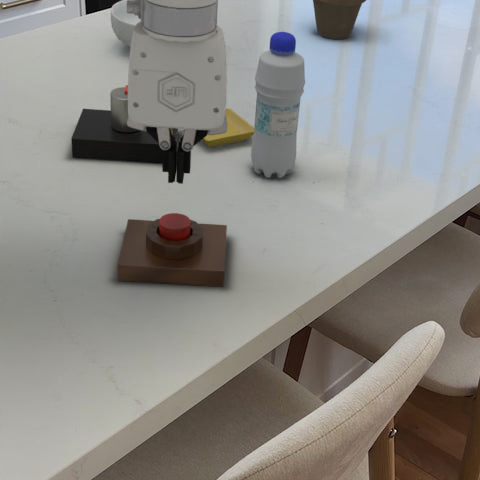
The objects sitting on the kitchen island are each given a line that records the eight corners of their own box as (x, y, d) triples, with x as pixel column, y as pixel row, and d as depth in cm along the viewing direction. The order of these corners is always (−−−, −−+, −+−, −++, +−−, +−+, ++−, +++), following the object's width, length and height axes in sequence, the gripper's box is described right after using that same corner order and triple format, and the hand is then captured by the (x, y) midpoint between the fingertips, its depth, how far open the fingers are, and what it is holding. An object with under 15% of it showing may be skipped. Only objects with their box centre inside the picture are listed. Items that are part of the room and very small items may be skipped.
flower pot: (323, 47, 168) (329, -6, 163) (293, 27, 176) (298, -24, 171) (373, 41, 174) (381, -11, 168) (342, 22, 181) (348, -28, 176)
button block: (117, 280, 101) (117, 251, 98) (128, 234, 109) (127, 206, 107) (223, 286, 101) (225, 257, 99) (225, 240, 110) (227, 212, 107)
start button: (157, 241, 101) (157, 228, 100) (160, 224, 104) (160, 212, 103) (189, 243, 102) (189, 230, 101) (191, 226, 105) (191, 213, 104)
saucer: (257, 143, 132) (258, 130, 131) (206, 153, 128) (207, 140, 127) (228, 120, 138) (229, 107, 137) (179, 129, 134) (179, 116, 133)
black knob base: (72, 157, 124) (71, 138, 122) (83, 127, 132) (82, 108, 130) (172, 164, 125) (173, 145, 123) (177, 133, 133) (178, 115, 131)
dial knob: (141, 133, 125) (140, 98, 122) (109, 131, 125) (108, 96, 122) (143, 120, 129) (143, 85, 126) (112, 118, 128) (112, 84, 125)
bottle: (263, 185, 122) (274, 44, 110) (239, 164, 126) (248, 27, 115) (304, 177, 125) (320, 39, 113) (280, 156, 129) (293, 22, 118)
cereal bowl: (178, 74, 152) (179, 34, 148) (93, 54, 156) (92, 14, 152) (219, 44, 165) (221, 7, 161) (140, 27, 169) (140, -11, 165)
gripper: (98, 22, 85) (104, 189, 95) (254, 33, 86) (243, 198, 96) (109, -2, 91) (113, 157, 102) (254, 8, 92) (243, 166, 102)
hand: (176, 177), depth 99 cm, fingers closed
